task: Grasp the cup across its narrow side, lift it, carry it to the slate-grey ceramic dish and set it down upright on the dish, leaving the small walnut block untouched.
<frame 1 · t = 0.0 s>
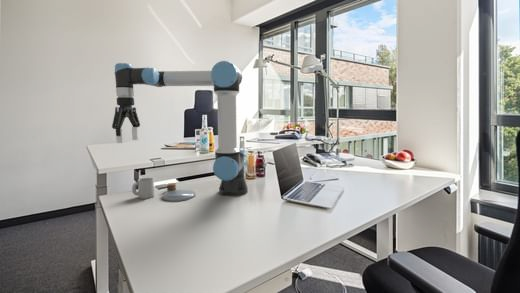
hand: (128, 141, 138), 28 cm above the table, fingers open, 13 cm apart
dish: (178, 196, 143), on the table
cup: (143, 197, 141), on the table
walnut block: (171, 191, 151), on the table
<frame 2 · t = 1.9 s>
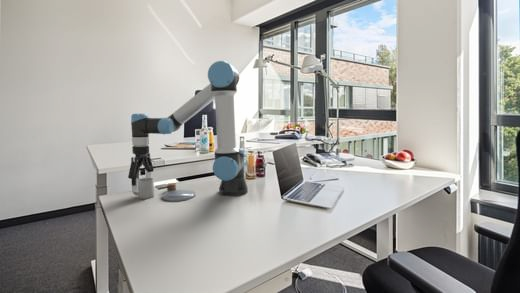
hand: (142, 187, 141), 5 cm above the table, fingers open, 13 cm apart
nothing on the table moved.
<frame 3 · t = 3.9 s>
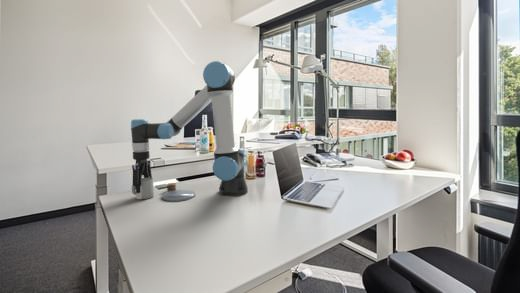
hand: (143, 196, 141), 0 cm above the table, fingers closed on cup, 7 cm apart
cup: (143, 197, 141), on the table, touching gripper
everything else where it was.
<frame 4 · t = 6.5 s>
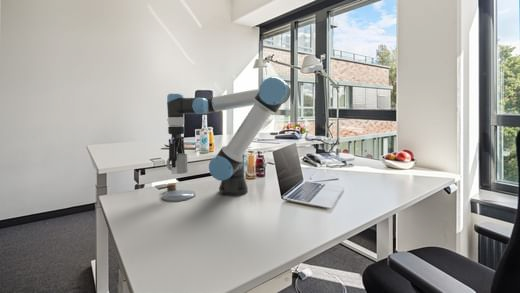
hand: (177, 171, 141), 13 cm above the table, fingers closed on cup, 7 cm apart
cup: (177, 172, 140), point 12 cm above the table, touching gripper
everything else where it was.
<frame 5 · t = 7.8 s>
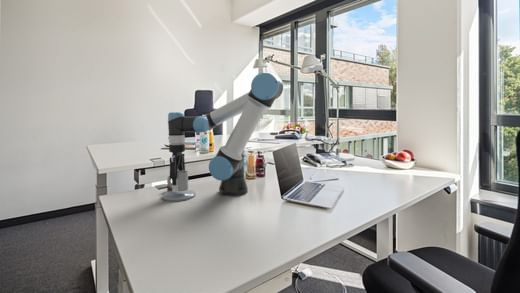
hand: (178, 189, 142), 4 cm above the table, fingers closed on cup, 7 cm apart
cup: (178, 190, 142), point 3 cm above the table, touching gripper
everything else where it was.
when the fingers open (2 cm above the table, at t = 9.0 s): cup stays where it is, resting on dish.
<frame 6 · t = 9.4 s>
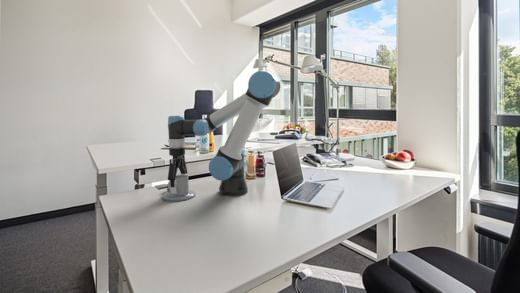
hand: (178, 189, 142), 3 cm above the table, fingers open, 12 cm apart
cup: (178, 194, 142), point 1 cm above the table, touching dish
everything else where it was.
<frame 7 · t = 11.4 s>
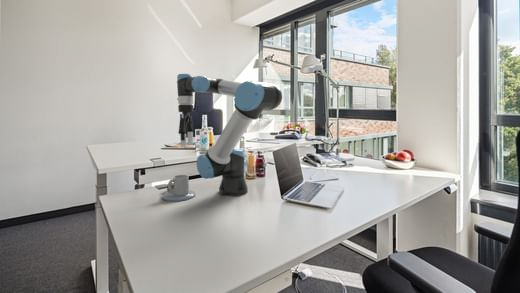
hand: (187, 145, 150), 25 cm above the table, fingers open, 13 cm apart
nothing on the table moved.
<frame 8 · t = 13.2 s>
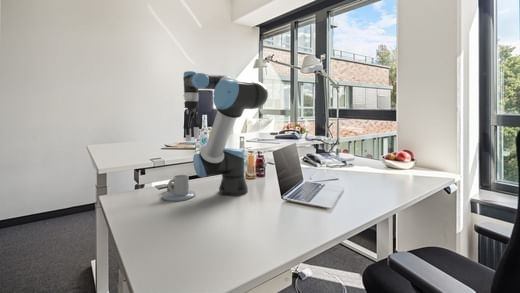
hand: (192, 139, 157), 27 cm above the table, fingers open, 13 cm apart
nothing on the table moved.
at the end: cup 0.6 cm from the dish (horizontally); cup tilted 0°; the gripper is holding nothing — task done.
